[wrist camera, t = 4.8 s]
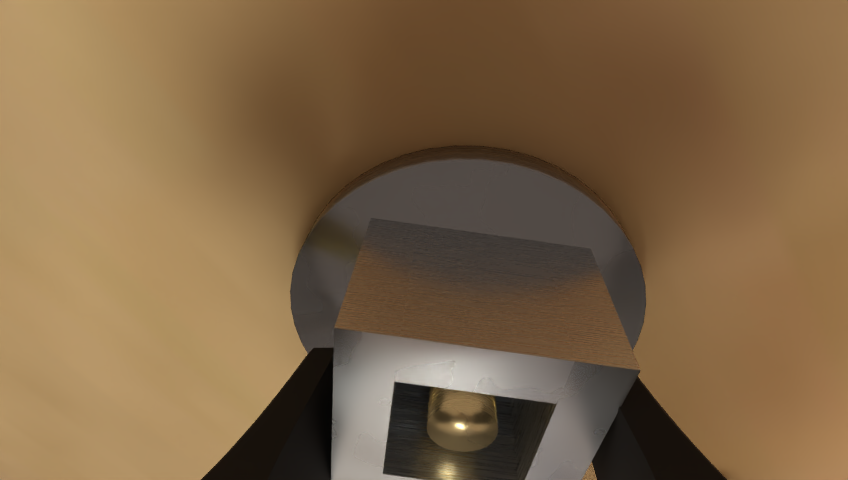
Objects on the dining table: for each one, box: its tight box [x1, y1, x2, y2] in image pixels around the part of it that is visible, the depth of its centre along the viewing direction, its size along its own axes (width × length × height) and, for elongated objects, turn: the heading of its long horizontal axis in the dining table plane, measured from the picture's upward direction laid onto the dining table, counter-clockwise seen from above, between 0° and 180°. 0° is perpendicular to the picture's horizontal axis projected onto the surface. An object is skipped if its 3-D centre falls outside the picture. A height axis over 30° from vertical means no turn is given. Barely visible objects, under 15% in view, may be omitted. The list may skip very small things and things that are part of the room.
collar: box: [331, 218, 641, 480], centre depth 12 cm, size 6×6×4 cm
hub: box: [290, 146, 646, 452], centre depth 12 cm, size 10×10×4 cm
